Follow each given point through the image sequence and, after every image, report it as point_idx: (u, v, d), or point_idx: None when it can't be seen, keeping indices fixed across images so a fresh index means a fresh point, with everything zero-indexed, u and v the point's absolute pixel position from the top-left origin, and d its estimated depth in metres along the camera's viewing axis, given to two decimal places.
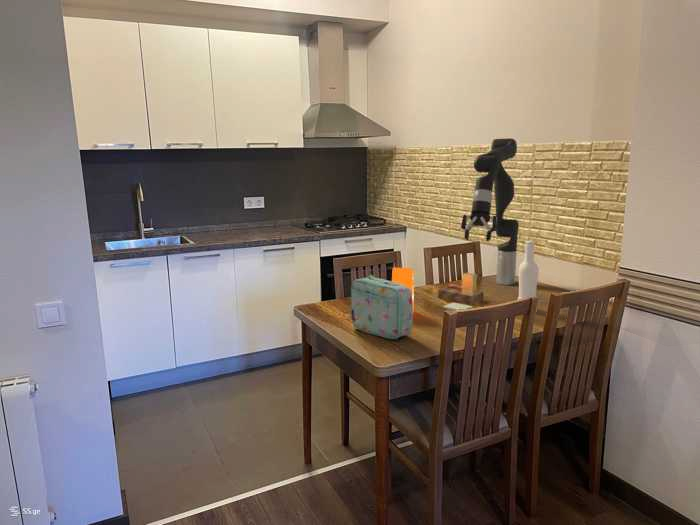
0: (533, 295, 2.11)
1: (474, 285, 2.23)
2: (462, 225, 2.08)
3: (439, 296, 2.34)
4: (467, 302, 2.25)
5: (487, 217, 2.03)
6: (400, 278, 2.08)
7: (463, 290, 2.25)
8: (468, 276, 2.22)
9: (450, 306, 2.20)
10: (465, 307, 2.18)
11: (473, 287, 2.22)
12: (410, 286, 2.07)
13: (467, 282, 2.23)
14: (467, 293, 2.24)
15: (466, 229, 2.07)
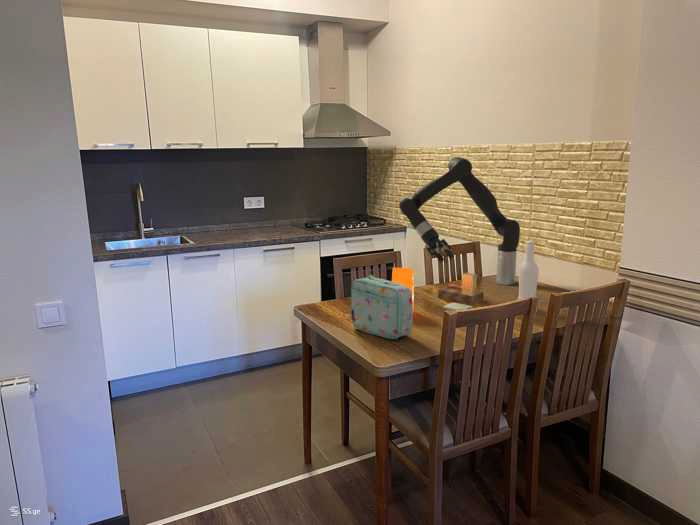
0: (533, 295, 2.11)
1: (474, 285, 2.23)
2: None
3: (439, 296, 2.34)
4: (467, 302, 2.25)
5: None
6: (400, 278, 2.08)
7: (463, 290, 2.25)
8: (468, 276, 2.22)
9: (450, 306, 2.20)
10: (465, 307, 2.18)
11: (473, 287, 2.22)
12: (410, 286, 2.07)
13: (467, 282, 2.23)
14: (467, 293, 2.24)
15: (446, 252, 2.35)
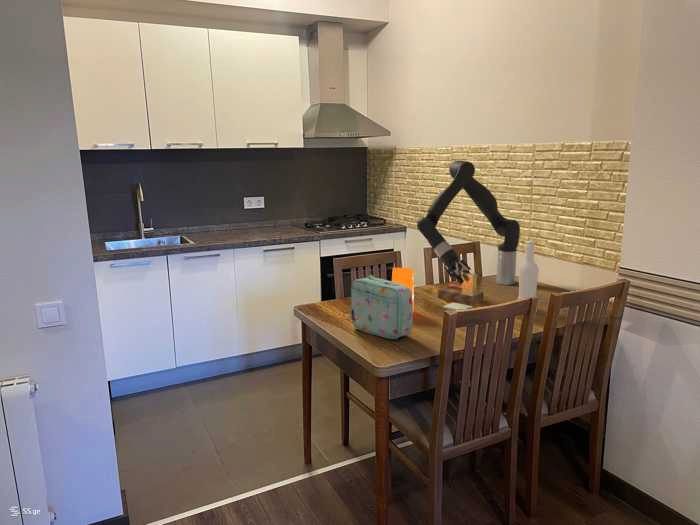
0: (533, 295, 2.11)
1: (474, 285, 2.23)
2: None
3: (439, 296, 2.34)
4: (467, 302, 2.25)
5: None
6: (400, 278, 2.08)
7: (463, 290, 2.25)
8: (468, 276, 2.22)
9: (450, 306, 2.20)
10: (465, 307, 2.18)
11: (473, 287, 2.22)
12: (410, 286, 2.07)
13: (467, 282, 2.23)
14: (467, 293, 2.24)
15: None
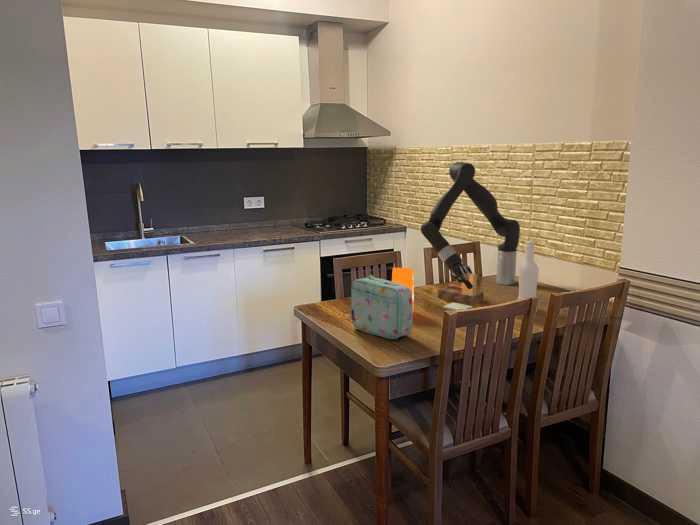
0: (533, 295, 2.11)
1: (474, 285, 2.23)
2: None
3: (439, 296, 2.34)
4: (467, 302, 2.25)
5: None
6: (400, 278, 2.08)
7: (463, 290, 2.25)
8: (468, 276, 2.22)
9: (450, 306, 2.20)
10: (465, 307, 2.18)
11: (473, 287, 2.22)
12: (410, 286, 2.07)
13: None
14: (467, 293, 2.24)
15: None
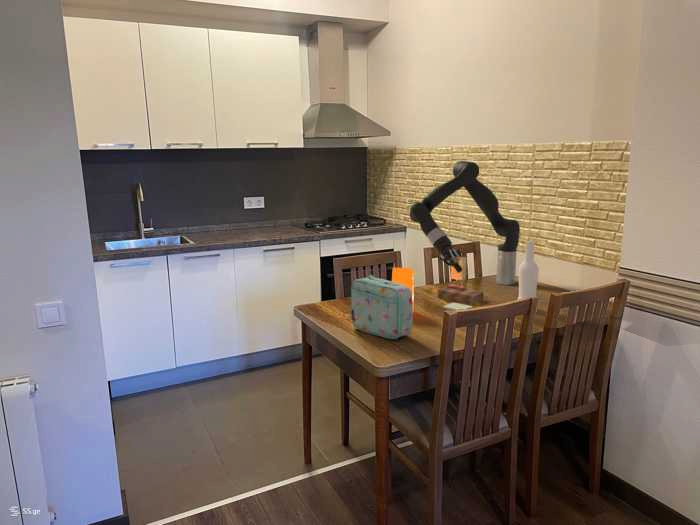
0: (533, 295, 2.11)
1: (464, 269, 2.14)
2: None
3: (439, 296, 2.34)
4: (467, 302, 2.25)
5: None
6: (400, 278, 2.08)
7: (452, 274, 2.17)
8: (457, 259, 2.14)
9: (450, 306, 2.20)
10: (465, 307, 2.18)
11: (463, 271, 2.14)
12: (410, 286, 2.07)
13: None
14: (456, 277, 2.15)
15: None
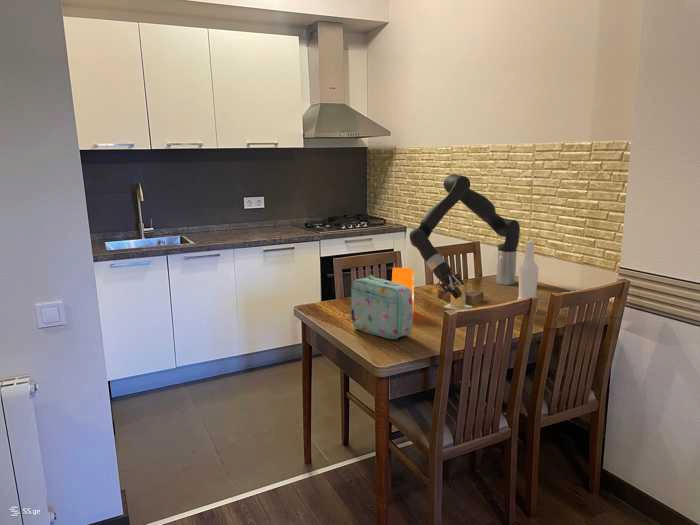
0: (533, 295, 2.11)
1: (463, 297, 2.17)
2: None
3: (439, 296, 2.34)
4: (467, 302, 2.25)
5: None
6: (400, 278, 2.08)
7: (452, 302, 2.19)
8: (457, 288, 2.16)
9: (450, 306, 2.20)
10: (465, 307, 2.18)
11: (462, 299, 2.16)
12: (410, 286, 2.07)
13: None
14: (456, 305, 2.18)
15: None
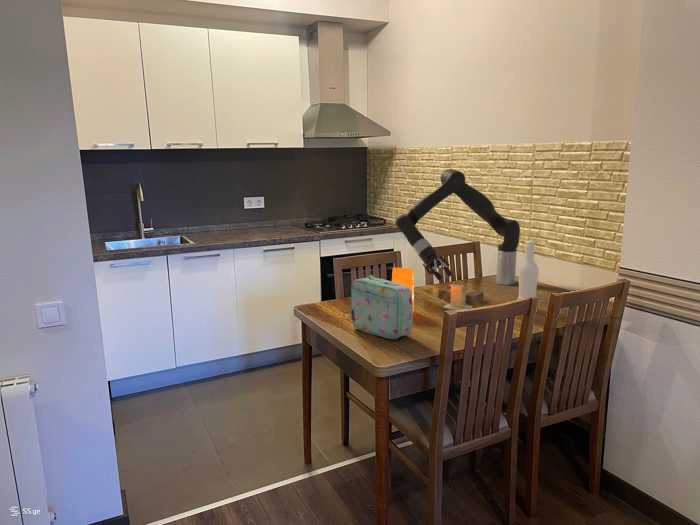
0: (533, 295, 2.11)
1: (463, 297, 2.17)
2: None
3: (439, 296, 2.34)
4: (467, 302, 2.25)
5: None
6: (400, 278, 2.08)
7: (452, 302, 2.19)
8: (457, 288, 2.16)
9: (450, 306, 2.20)
10: (465, 307, 2.18)
11: (462, 299, 2.16)
12: (410, 286, 2.07)
13: (456, 294, 2.17)
14: (456, 305, 2.18)
15: (444, 269, 2.31)
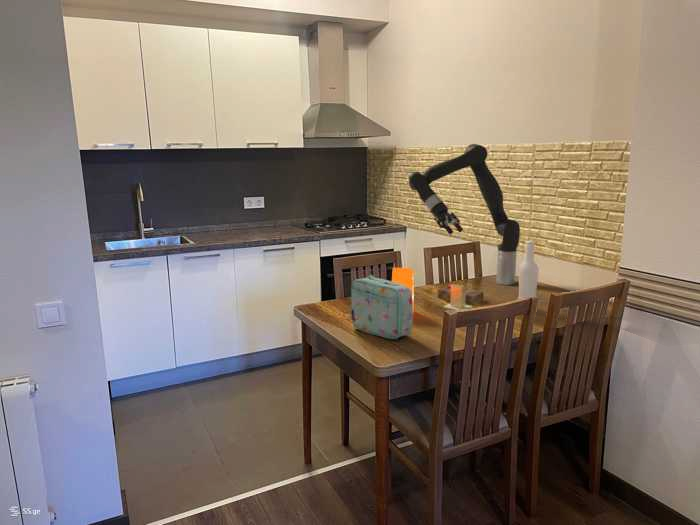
0: (533, 295, 2.11)
1: (463, 297, 2.17)
2: None
3: (439, 296, 2.34)
4: (467, 302, 2.25)
5: None
6: (400, 278, 2.08)
7: (452, 302, 2.19)
8: (457, 288, 2.16)
9: (450, 306, 2.20)
10: (465, 307, 2.18)
11: (462, 299, 2.16)
12: (410, 286, 2.07)
13: (456, 294, 2.17)
14: (456, 305, 2.18)
15: (455, 226, 2.37)
